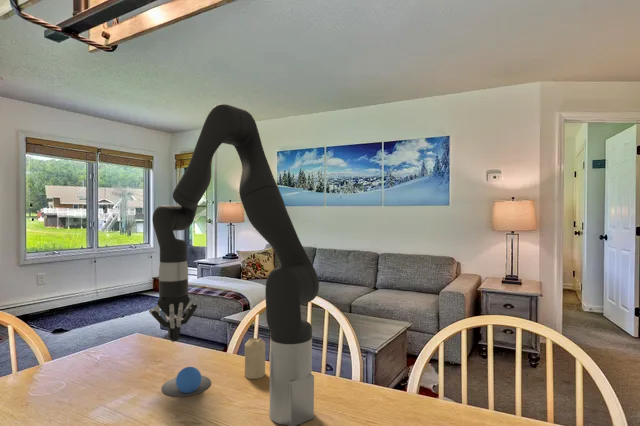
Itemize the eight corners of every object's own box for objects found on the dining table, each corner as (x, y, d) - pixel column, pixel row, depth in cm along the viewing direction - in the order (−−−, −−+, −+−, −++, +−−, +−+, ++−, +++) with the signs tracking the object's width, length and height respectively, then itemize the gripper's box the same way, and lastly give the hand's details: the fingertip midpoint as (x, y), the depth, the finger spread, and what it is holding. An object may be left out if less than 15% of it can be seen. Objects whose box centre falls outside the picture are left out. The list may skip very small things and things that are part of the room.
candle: (267, 371, 111) (267, 335, 110) (262, 379, 105) (262, 342, 105) (247, 370, 111) (248, 335, 111) (242, 378, 106) (242, 341, 105)
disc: (218, 387, 100) (218, 386, 100) (170, 401, 93) (170, 400, 93) (200, 371, 110) (200, 371, 110) (155, 383, 102) (155, 382, 102)
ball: (206, 379, 96) (200, 359, 101) (181, 383, 93) (176, 363, 97) (201, 395, 99) (195, 376, 103) (176, 400, 95) (171, 380, 100)
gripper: (152, 282, 102) (153, 349, 102) (202, 276, 110) (202, 339, 110) (144, 278, 108) (145, 342, 108) (192, 273, 116) (192, 332, 116)
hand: (174, 340), depth 109 cm, fingers closed
